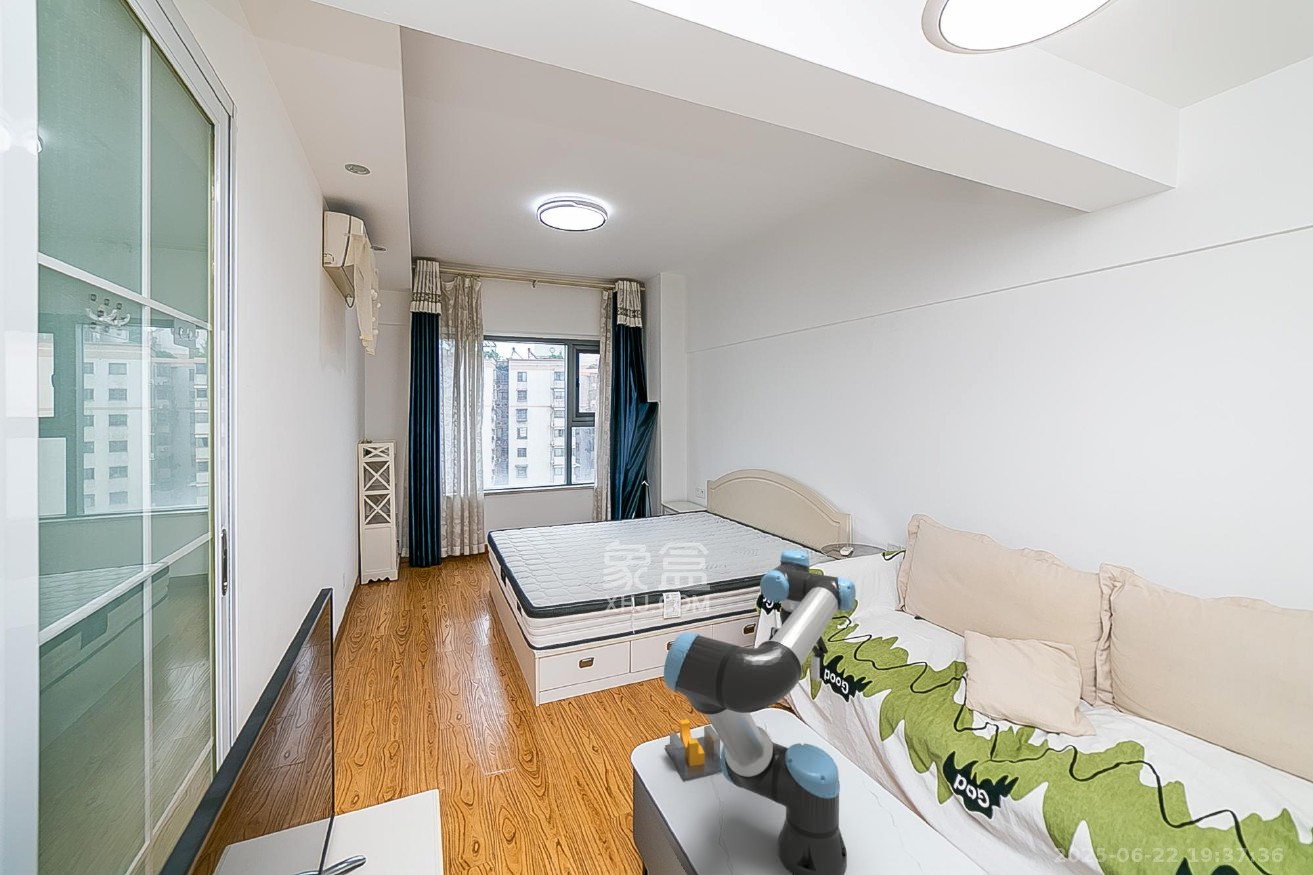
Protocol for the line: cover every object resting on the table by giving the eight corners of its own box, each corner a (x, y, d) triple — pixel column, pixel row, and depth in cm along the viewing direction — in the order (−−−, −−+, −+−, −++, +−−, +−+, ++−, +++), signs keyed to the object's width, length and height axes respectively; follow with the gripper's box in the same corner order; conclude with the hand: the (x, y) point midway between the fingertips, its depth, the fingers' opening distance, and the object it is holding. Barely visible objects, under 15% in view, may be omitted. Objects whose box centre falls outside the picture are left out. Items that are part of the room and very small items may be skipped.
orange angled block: (704, 763, 157) (704, 741, 156) (689, 765, 156) (689, 743, 155) (693, 738, 168) (693, 718, 168) (680, 740, 167) (679, 720, 167)
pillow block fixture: (726, 770, 155) (726, 746, 155) (684, 781, 151) (683, 756, 150) (704, 739, 170) (704, 717, 169) (665, 748, 165) (664, 725, 165)
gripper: (824, 597, 157) (823, 669, 158) (747, 609, 149) (747, 685, 150) (841, 606, 150) (840, 681, 151) (762, 619, 142) (762, 699, 143)
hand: (794, 683), depth 151 cm, fingers open, 13 cm apart
